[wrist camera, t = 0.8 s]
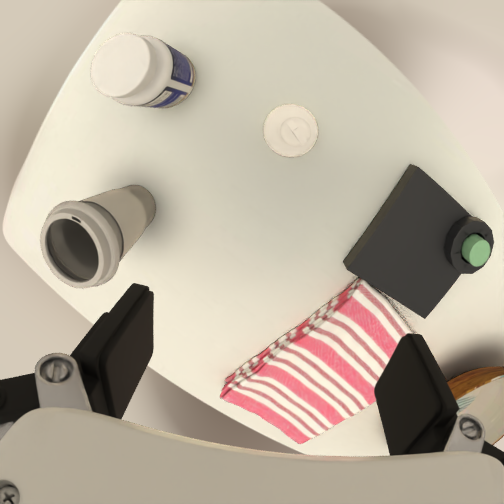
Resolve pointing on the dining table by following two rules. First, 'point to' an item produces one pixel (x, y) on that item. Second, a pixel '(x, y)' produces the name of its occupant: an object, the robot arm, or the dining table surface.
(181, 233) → the dining table surface
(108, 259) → the cup
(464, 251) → the button
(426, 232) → the scale
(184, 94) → the pill bottle
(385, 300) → the dish towel
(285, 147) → the chess piece
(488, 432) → the bowl
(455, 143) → the dining table surface
